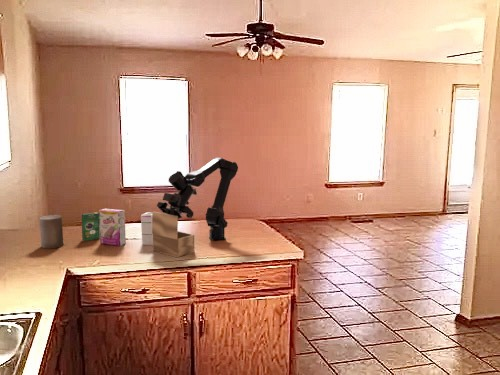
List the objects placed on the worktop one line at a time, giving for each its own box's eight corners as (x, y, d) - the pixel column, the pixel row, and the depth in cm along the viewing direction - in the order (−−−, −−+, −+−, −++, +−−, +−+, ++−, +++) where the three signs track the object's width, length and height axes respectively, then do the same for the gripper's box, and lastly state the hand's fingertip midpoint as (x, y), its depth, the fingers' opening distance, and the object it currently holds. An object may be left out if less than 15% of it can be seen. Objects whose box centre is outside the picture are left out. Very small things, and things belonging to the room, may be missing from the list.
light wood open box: (170, 246, 228) (169, 229, 227) (194, 252, 218) (194, 234, 217) (153, 250, 220) (152, 233, 219) (177, 257, 210) (177, 239, 209)
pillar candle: (68, 244, 231) (66, 213, 229) (51, 249, 222) (49, 216, 220) (52, 242, 235) (50, 211, 233) (36, 247, 226) (34, 215, 224)
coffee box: (98, 237, 243) (97, 211, 241) (100, 238, 241) (99, 212, 239) (82, 240, 238) (80, 213, 236) (84, 241, 236) (83, 214, 234)
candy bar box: (99, 244, 231) (98, 210, 229) (106, 241, 236) (104, 208, 233) (120, 246, 228) (119, 211, 225) (126, 243, 232) (125, 209, 230)
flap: (153, 211, 218) (152, 211, 218) (177, 216, 208) (177, 216, 208) (152, 233, 219) (152, 233, 219) (177, 239, 209) (176, 239, 209)
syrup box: (153, 245, 230) (152, 214, 228) (141, 244, 231) (140, 214, 229) (158, 242, 235) (157, 212, 233) (146, 241, 237) (145, 211, 234)
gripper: (159, 183, 221) (140, 211, 214) (188, 187, 209) (169, 217, 203) (172, 198, 228) (155, 226, 222) (201, 203, 217) (183, 232, 210)
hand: (165, 225), depth 214 cm, fingers closed, pressing on flap
